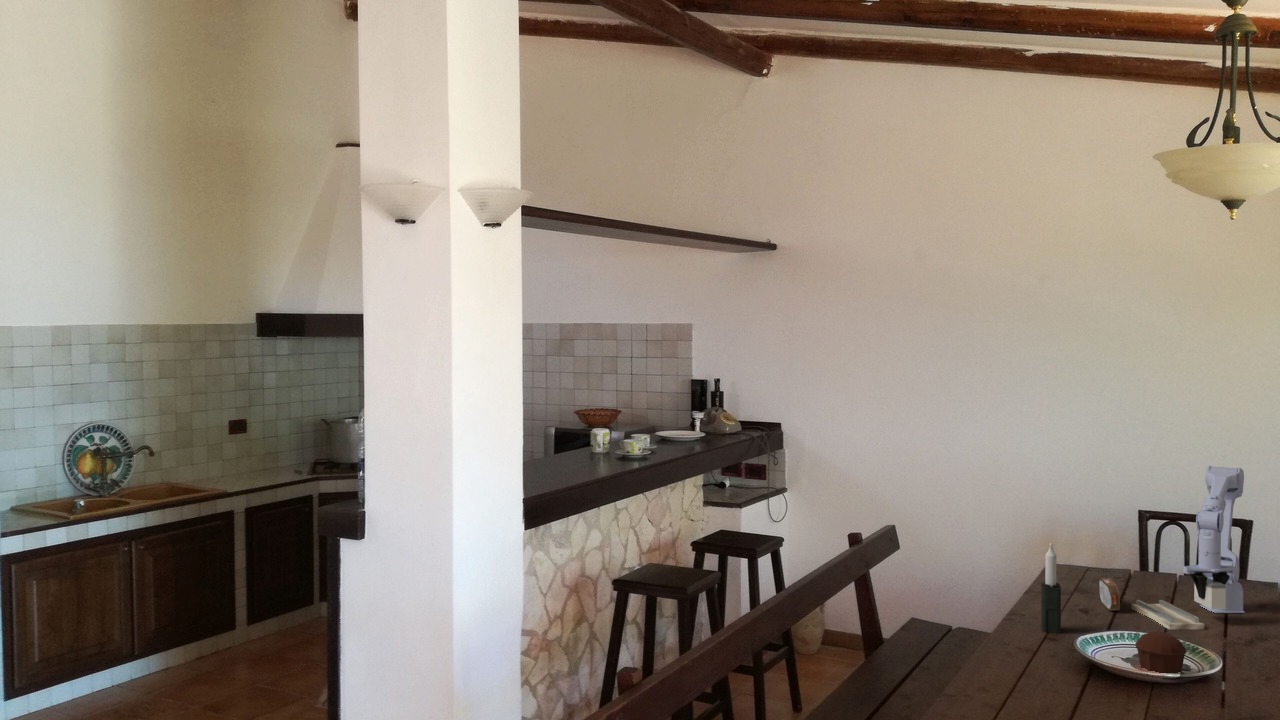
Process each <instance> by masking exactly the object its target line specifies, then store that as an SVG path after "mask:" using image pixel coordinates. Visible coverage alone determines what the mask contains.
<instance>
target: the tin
mask: <svg viewBox="0 0 1280 720" xmlns="http://www.w3.org/2000/svg"><path fill="white" fill-rule="evenodd" d="M1098 586H1099V587H1098V588H1099V598H1100V602H1101V603H1102V605H1103V606H1104V607H1105V608H1106V609H1107V610H1108V611H1109V612H1120V609H1121V597H1120V591H1119V589H1118V586H1117V584H1116V583H1115V582H1114V581H1113V580H1112V579H1111V578H1110V577H1103V578H1102V577H1101V578H1100V579H1099V581H1098Z"/></svg>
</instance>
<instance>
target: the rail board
mask: <svg viewBox="0 0 1280 720" xmlns="http://www.w3.org/2000/svg"><path fill="white" fill-rule="evenodd" d="M1131 610H1133V611H1134V610H1135V611H1134V612H1136V611H1137V612H1136V613H1138V612H1139V614H1140V613H1141V614H1140V615H1142V614H1143V615H1142V616H1144V615H1145V616H1147V617H1149V618H1151V619H1153V620H1155V621H1156V622H1158V623H1159V624H1158V623H1157V624H1158V625H1160V624H1161V625H1160V626H1162V625H1163V626H1162V627H1164V628H1165V629H1167V630H1172V631H1173V630H1175V631H1176V630H1179V631H1180V630H1182V631H1183V630H1184V631H1185V630H1205V623H1203V622H1201V621H1200V618H1199V617H1198V616H1196V615H1194V614H1192V613H1189V611H1186V610H1184V609H1182V608H1179V607H1178V606H1176V605H1173V604H1172V603H1170V602H1167V601H1165V600H1164V599H1158V603H1147V602H1144V601H1142V599H1141V600H1140V599H1136V601H1135V603H1131ZM1145 616H1144V617H1145ZM1147 617H1146V618H1147ZM1149 618H1148V619H1149ZM1151 619H1150V620H1151ZM1153 620H1152V621H1153ZM1155 621H1154V622H1155ZM1156 622H1155V623H1156Z"/></svg>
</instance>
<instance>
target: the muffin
mask: <svg viewBox="0 0 1280 720" xmlns="http://www.w3.org/2000/svg"><path fill="white" fill-rule="evenodd" d="M1135 647H1136V649H1137V655H1138V661H1139V666H1140V665H1141V668H1145V669H1147V670H1148V671H1155V672H1159V673H1178V672H1181V673H1182V672H1183V671H1182V670H1183V666H1184V665H1183V664H1184V660H1185V655H1186V654H1187V649H1186V647H1185V646H1184V644H1183V643H1182V642H1181V640H1179V639H1178V638H1177V637H1176V636H1174V635H1173V634H1170V633H1167V632H1165V631H1161V630H1160V631H1156V630H1155V631H1149V632H1146V633H1144V634H1142V635H1141V636H1140V637H1139V638H1138V639H1137V640H1136V642H1135Z"/></svg>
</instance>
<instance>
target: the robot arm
mask: <svg viewBox="0 0 1280 720" xmlns="http://www.w3.org/2000/svg"><path fill="white" fill-rule="evenodd" d="M1204 474H1205V477H1204V479H1205V484H1206V489H1207V491H1208V495H1206V496H1205V497H1204V500H1203V503H1202V507H1201V510H1200V511H1197V513H1196V517H1195V524H1196V532H1197V533H1196V534H1197V536H1198V564H1194V565H1184V566H1183V567H1182V570H1183V571H1182V572H1183V574H1186V575H1190V577H1191V579H1192V581H1193V584H1194V583H1195V585H1196V588H1197V592H1198V596H1199V597H1200V598H1202V599H1205V587H1206V581H1207V578H1210V579H1213V580H1215V581H1217V582H1220V583H1222V584H1224V585H1226V596H1225V609H1210V608H1208V607H1206V606H1204V605H1202V604H1199V607H1200V606H1201V608H1202V607H1203V609H1204V608H1205V609H1204V610H1206V609H1207V610H1206V611H1208V612H1211V611H1212V612H1211V613H1213V612H1214V614H1244V613H1246V611H1244V589H1243V586H1242V584H1241V583H1240V582H1239V578H1240V559H1239V557H1238V555H1236V554H1235V552H1233V551H1231V539H1232V538H1231V536H1232V527H1233V514H1234V505H1235V502H1236V500H1237V499H1238V498H1241V497H1242V496H1243V493H1244V483H1245V472H1244V470H1243V469H1242V467H1237V468H1236V467H1227V466H1226V467H1224V466H1212V465H1209V466H1206V469H1205V472H1204Z"/></svg>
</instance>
